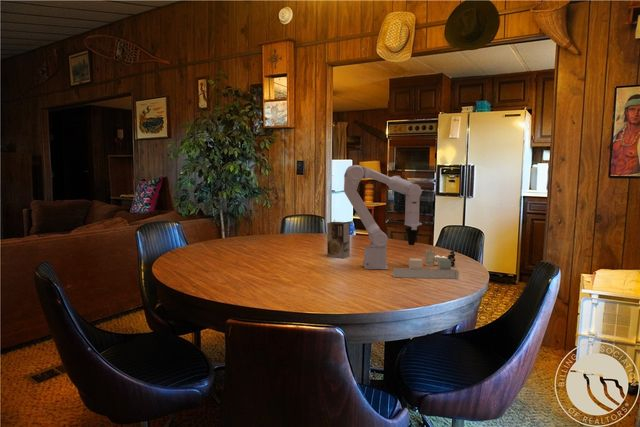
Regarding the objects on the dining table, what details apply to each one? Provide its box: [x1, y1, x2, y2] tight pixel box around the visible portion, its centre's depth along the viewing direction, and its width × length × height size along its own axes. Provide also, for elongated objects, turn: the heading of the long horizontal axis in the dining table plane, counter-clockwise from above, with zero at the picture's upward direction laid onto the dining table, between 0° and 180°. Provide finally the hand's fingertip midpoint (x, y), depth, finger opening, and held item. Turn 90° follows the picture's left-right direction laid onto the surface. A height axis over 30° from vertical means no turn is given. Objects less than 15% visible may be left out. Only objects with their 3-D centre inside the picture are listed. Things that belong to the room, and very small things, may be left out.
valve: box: [424, 249, 456, 267], centre depth 181 cm, size 7×7×12 cm
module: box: [408, 257, 424, 268], centre depth 164 cm, size 4×7×6 cm
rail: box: [392, 258, 460, 280], centre depth 163 cm, size 24×8×6 cm, turn 86°
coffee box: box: [326, 221, 351, 259], centre depth 200 cm, size 9×6×16 cm
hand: (411, 244), depth 177 cm, fingers closed
